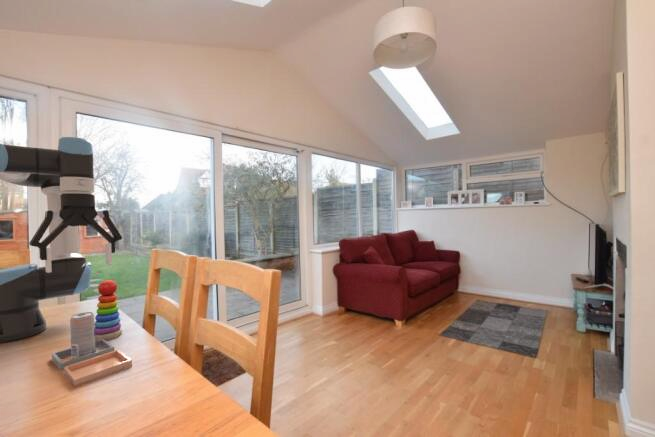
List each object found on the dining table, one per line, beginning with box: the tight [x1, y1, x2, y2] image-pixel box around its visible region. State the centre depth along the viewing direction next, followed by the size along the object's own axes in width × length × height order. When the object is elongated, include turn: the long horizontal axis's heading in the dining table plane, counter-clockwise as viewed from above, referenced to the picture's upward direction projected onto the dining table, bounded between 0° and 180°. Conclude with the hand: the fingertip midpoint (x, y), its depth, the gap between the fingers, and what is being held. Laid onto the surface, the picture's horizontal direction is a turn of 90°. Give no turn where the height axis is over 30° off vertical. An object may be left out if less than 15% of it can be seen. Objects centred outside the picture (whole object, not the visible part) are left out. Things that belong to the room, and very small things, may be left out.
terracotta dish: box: [63, 349, 133, 388], centre depth 78 cm, size 10×12×2 cm
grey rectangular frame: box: [51, 339, 115, 371], centre depth 86 cm, size 10×12×2 cm
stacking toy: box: [94, 279, 123, 341], centre depth 100 cm, size 8×8×19 cm
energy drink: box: [69, 311, 97, 360], centre depth 86 cm, size 5×5×12 cm
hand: (80, 268), depth 86 cm, fingers open, 13 cm apart
